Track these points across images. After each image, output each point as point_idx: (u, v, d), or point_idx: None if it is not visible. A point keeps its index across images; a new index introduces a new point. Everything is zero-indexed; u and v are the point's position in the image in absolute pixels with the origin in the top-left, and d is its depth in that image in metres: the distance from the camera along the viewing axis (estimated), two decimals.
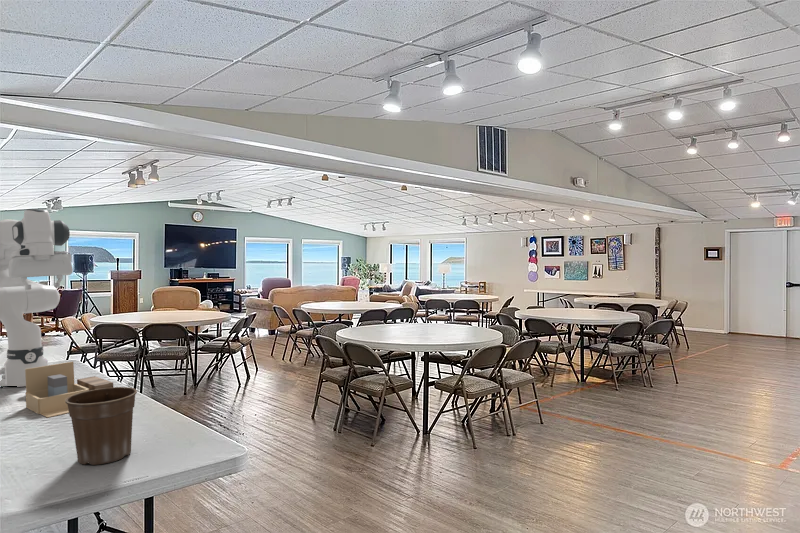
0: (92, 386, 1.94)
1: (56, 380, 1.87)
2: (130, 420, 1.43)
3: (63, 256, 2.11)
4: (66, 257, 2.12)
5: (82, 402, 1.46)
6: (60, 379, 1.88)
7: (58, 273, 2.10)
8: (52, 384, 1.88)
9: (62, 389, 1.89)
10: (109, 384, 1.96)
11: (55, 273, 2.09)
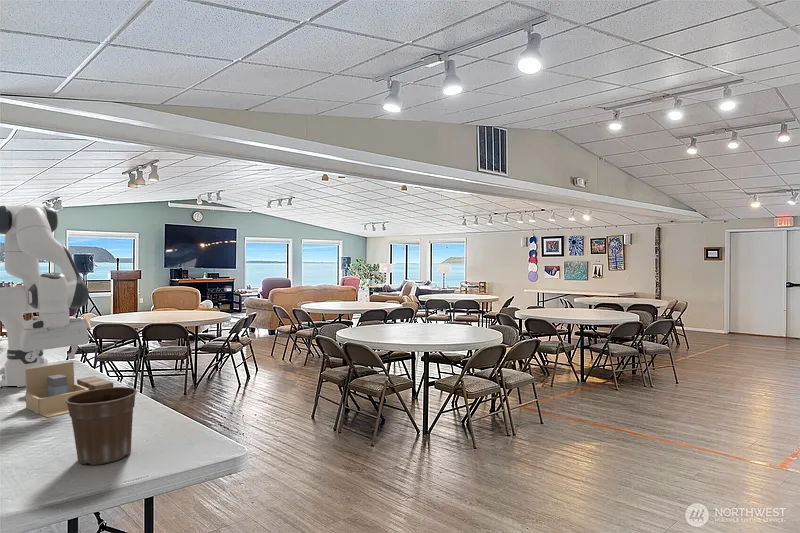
0: (92, 386, 1.94)
1: (56, 380, 1.87)
2: (130, 420, 1.43)
3: (79, 324, 1.94)
4: (82, 325, 1.95)
5: (82, 402, 1.46)
6: (60, 379, 1.88)
7: (73, 344, 1.92)
8: (52, 384, 1.88)
9: (62, 389, 1.89)
10: (109, 384, 1.96)
11: (70, 344, 1.92)
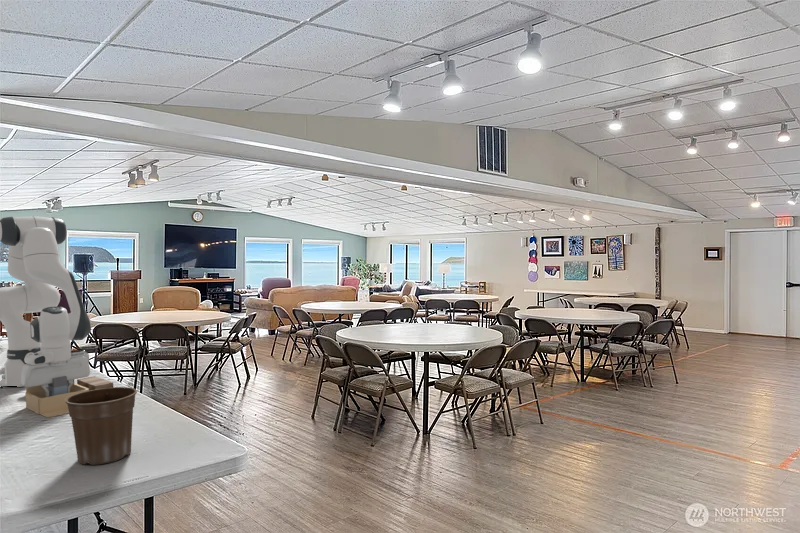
0: (92, 386, 1.94)
1: (56, 380, 1.87)
2: (130, 420, 1.43)
3: (81, 358, 1.94)
4: (84, 358, 1.95)
5: (82, 402, 1.46)
6: (60, 379, 1.88)
7: (75, 377, 1.93)
8: (52, 384, 1.88)
9: (62, 389, 1.89)
10: (109, 384, 1.96)
11: (71, 378, 1.92)
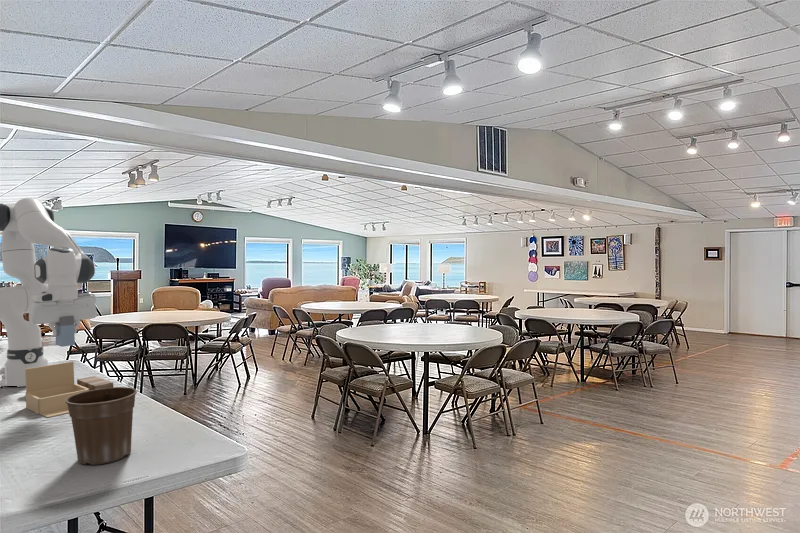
0: (92, 386, 1.94)
1: (63, 319, 1.89)
2: (130, 420, 1.43)
3: (87, 299, 1.96)
4: (90, 300, 1.97)
5: (82, 402, 1.46)
6: (67, 318, 1.90)
7: (81, 318, 1.94)
8: (59, 323, 1.89)
9: (69, 328, 1.90)
10: (109, 384, 1.96)
11: (78, 318, 1.94)
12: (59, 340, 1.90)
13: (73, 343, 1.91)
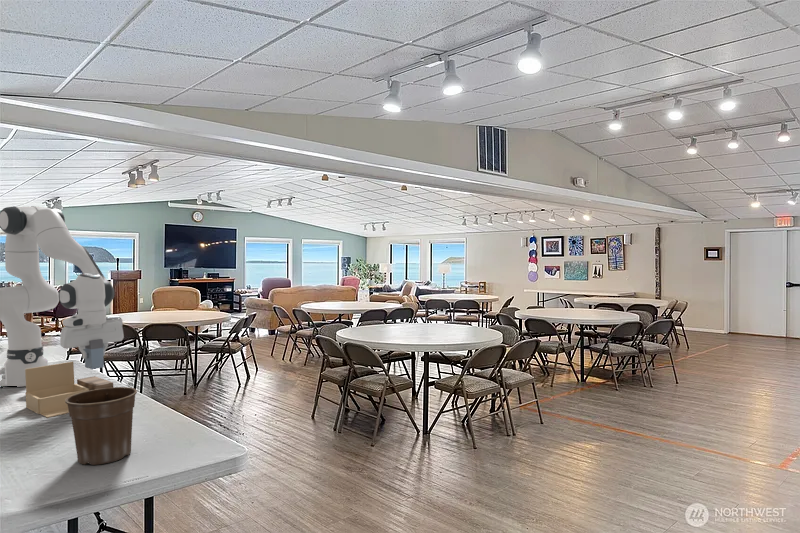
0: (92, 386, 1.94)
1: (93, 342, 1.96)
2: (130, 420, 1.43)
3: (115, 322, 2.03)
4: (118, 323, 2.04)
5: (82, 402, 1.46)
6: (96, 341, 1.97)
7: (109, 340, 2.02)
8: (89, 346, 1.97)
9: (99, 351, 1.98)
10: (109, 384, 1.96)
11: (107, 341, 2.01)
12: (89, 363, 1.97)
13: (102, 365, 1.99)
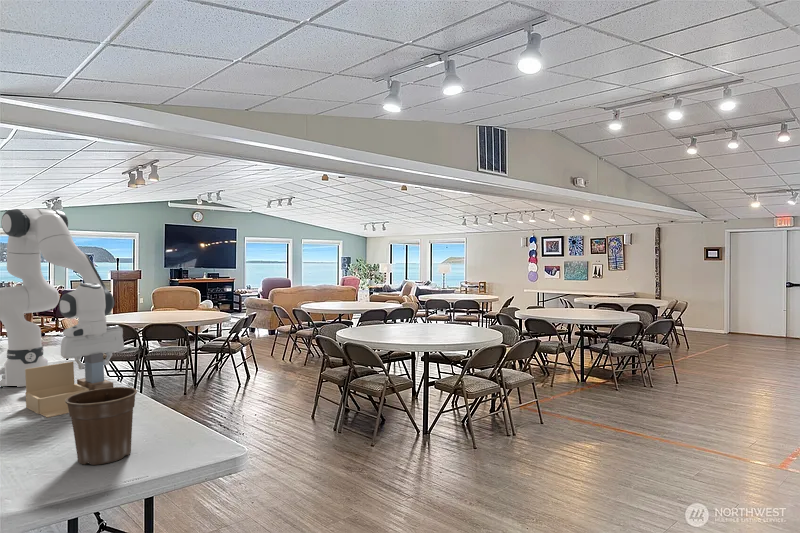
0: (92, 386, 1.94)
1: (93, 356, 1.96)
2: (130, 420, 1.43)
3: (115, 332, 2.03)
4: (118, 333, 2.04)
5: (82, 402, 1.46)
6: (97, 355, 1.97)
7: (110, 350, 2.02)
8: (89, 360, 1.97)
9: (99, 365, 1.98)
10: (109, 384, 1.96)
11: (107, 350, 2.01)
12: (89, 377, 1.98)
13: (102, 379, 1.99)
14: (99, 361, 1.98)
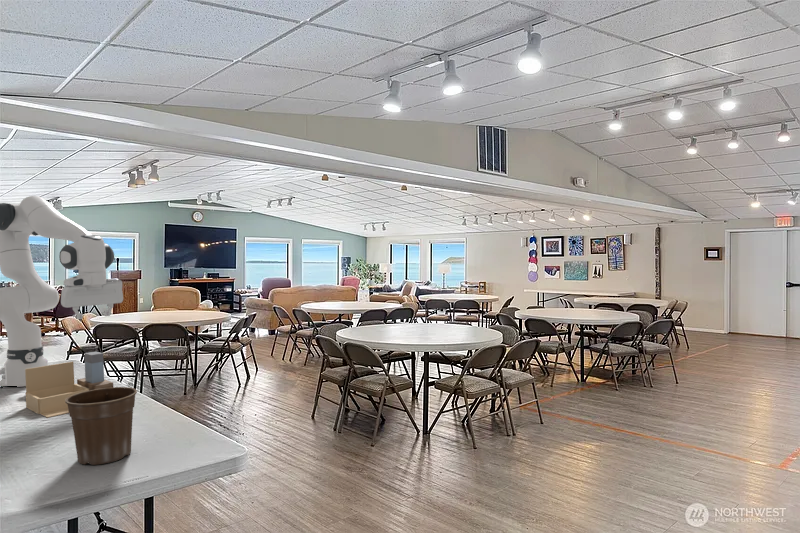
0: (92, 386, 1.94)
1: (93, 356, 1.96)
2: (130, 420, 1.43)
3: (115, 284, 2.07)
4: (118, 285, 2.07)
5: (82, 402, 1.46)
6: (97, 355, 1.97)
7: (109, 302, 2.05)
8: (89, 360, 1.97)
9: (99, 365, 1.98)
10: (109, 384, 1.96)
11: (106, 302, 2.04)
12: (89, 377, 1.98)
13: (102, 379, 1.99)
14: (99, 361, 1.98)
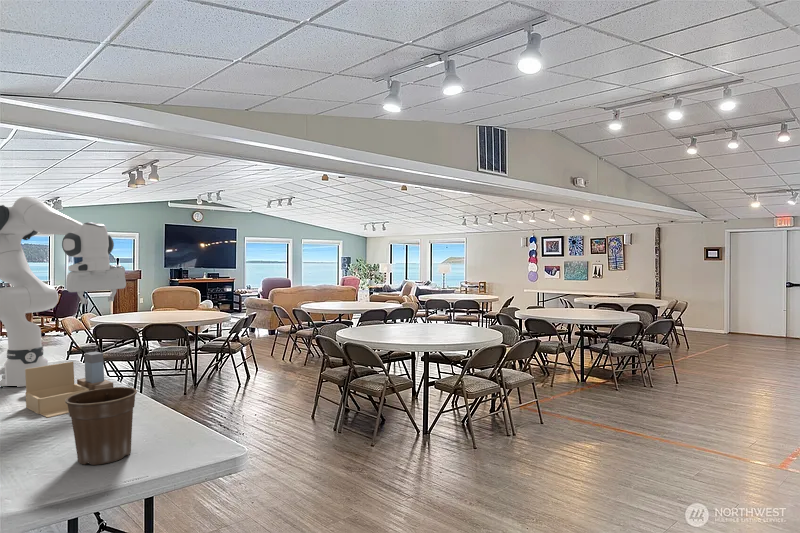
0: (92, 386, 1.94)
1: (93, 356, 1.96)
2: (130, 420, 1.43)
3: (118, 270, 2.13)
4: (121, 271, 2.14)
5: (82, 402, 1.46)
6: (97, 355, 1.97)
7: (113, 287, 2.12)
8: (89, 360, 1.97)
9: (99, 365, 1.98)
10: (109, 384, 1.96)
11: (110, 287, 2.11)
12: (89, 377, 1.98)
13: (102, 379, 1.99)
14: (99, 361, 1.98)
